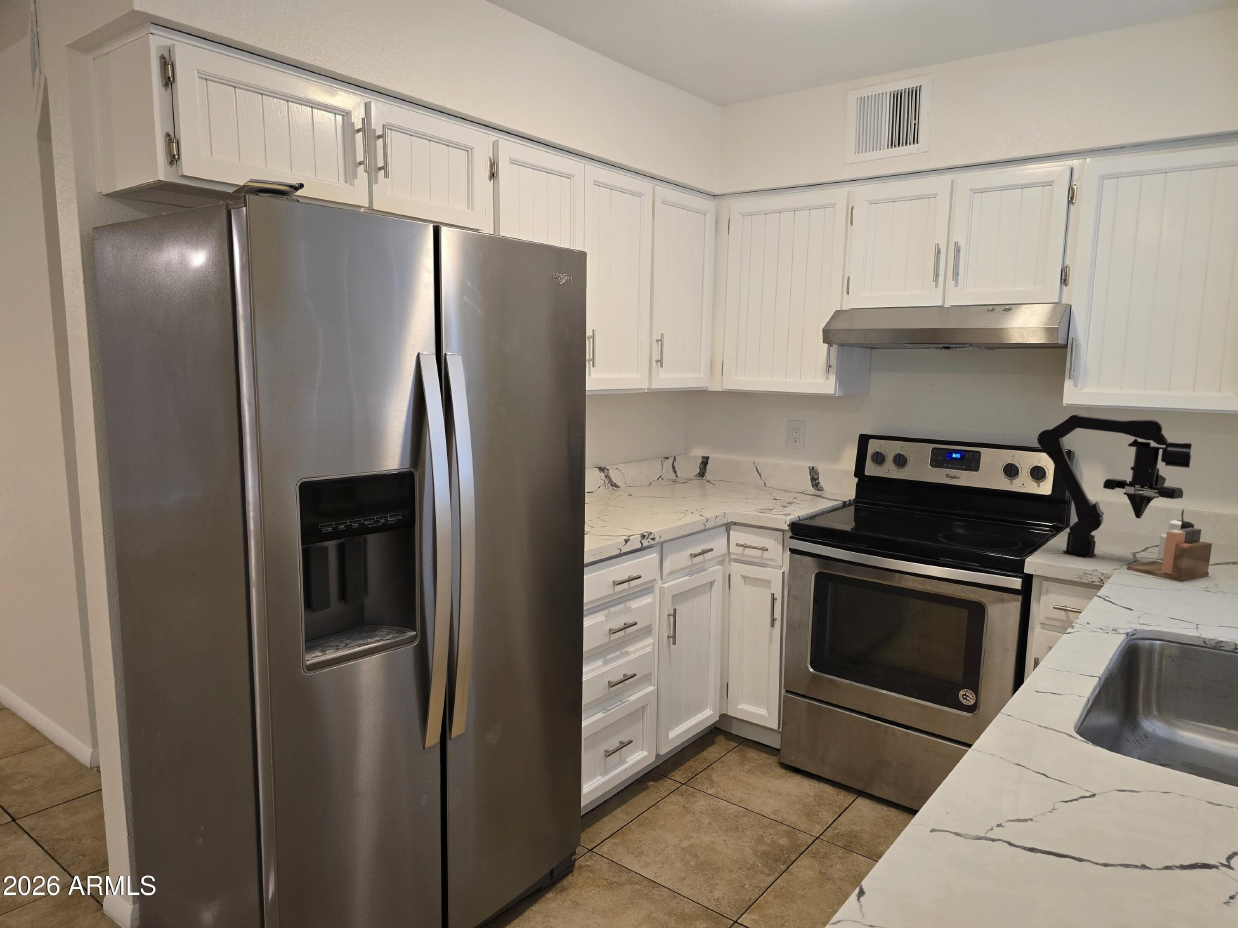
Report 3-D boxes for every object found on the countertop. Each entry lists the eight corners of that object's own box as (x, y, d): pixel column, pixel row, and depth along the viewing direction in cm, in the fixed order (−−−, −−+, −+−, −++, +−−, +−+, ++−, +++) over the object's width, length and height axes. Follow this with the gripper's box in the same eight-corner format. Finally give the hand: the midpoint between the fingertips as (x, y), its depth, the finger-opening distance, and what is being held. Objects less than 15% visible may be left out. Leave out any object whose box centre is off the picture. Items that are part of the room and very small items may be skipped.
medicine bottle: (1182, 559, 240) (1187, 519, 238) (1196, 565, 233) (1202, 524, 231) (1156, 557, 240) (1162, 518, 239) (1170, 563, 233) (1176, 522, 232)
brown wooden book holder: (1126, 569, 223) (1132, 525, 222) (1154, 563, 232) (1160, 521, 230) (1181, 581, 212) (1187, 535, 210) (1208, 575, 220) (1214, 531, 219)
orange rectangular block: (1161, 571, 216) (1167, 530, 215) (1169, 570, 219) (1175, 529, 217) (1171, 574, 214) (1177, 532, 213) (1179, 572, 217) (1185, 531, 215)
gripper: (1196, 467, 224) (1188, 522, 227) (1125, 458, 240) (1118, 510, 242) (1176, 468, 219) (1169, 525, 221) (1105, 459, 234) (1098, 512, 236)
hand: (1138, 518), depth 230 cm, fingers closed
